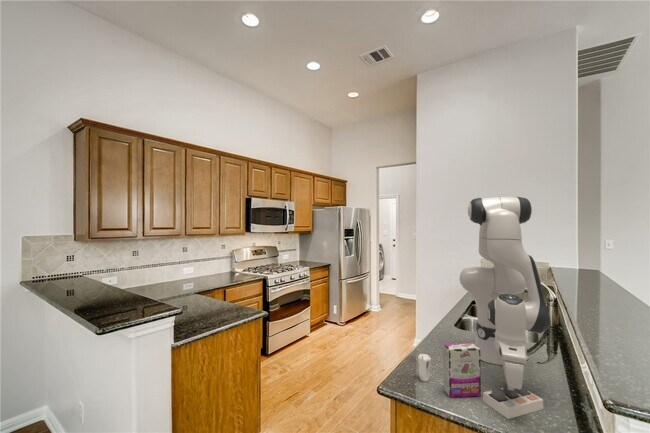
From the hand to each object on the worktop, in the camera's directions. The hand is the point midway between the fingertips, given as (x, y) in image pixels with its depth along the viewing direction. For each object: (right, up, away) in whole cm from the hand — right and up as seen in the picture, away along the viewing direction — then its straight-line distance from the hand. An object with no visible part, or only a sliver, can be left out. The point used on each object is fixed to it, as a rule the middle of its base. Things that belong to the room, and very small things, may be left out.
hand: (510, 388), depth 96 cm
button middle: (0, -3, 0) cm, 3 cm away
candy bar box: (-13, -5, +6) cm, 15 cm away
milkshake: (-24, -5, +14) cm, 28 cm away
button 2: (+5, -5, +2) cm, 7 cm away
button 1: (-5, -3, -1) cm, 6 cm away
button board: (0, -5, -1) cm, 5 cm away
